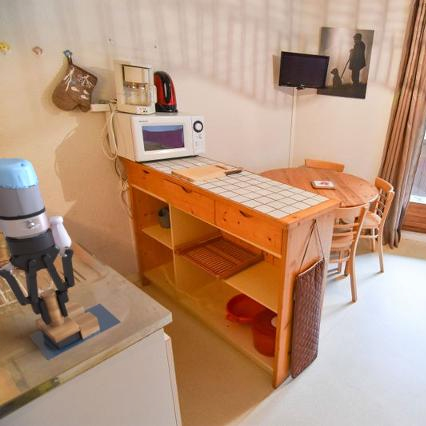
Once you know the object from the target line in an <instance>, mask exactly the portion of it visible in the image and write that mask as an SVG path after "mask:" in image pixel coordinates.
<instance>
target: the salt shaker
mask: <svg viewBox="0 0 426 426" xmlns="http://www.w3.org/2000/svg"><path fill="white" fill-rule="evenodd" d="M48 220H49V223H50V229H51V230H52V234H53V237H54V241H55V244H56V245H57V246H58V247H59V248H64V247H66V246H68V247H70V248H71V246H72V239H71V237H70V236H69V233H68V232H67V230H66V228H65V226H64V224H63V223H64V218H63V216H61V215H52V216H48Z"/></svg>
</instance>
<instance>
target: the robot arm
mask: <svg viewBox="0 0 426 426" xmlns="http://www.w3.org/2000/svg"><path fill="white" fill-rule="evenodd" d="M39 182H40V181H39V177H38V176H37V174H36V172H35V169H34V167H33V164H32V162H30V161H29V160H28V159H25V158H19V157H11V158H9V157H4V158H0V228H1V231H2V234H3V236H5V237H4V239H5V242H6V246H7V248H8V251H9V254H10V256H9V260H8V261H9V262H8V263H6V264H4V266H0V277H2V278H3V279H4V280H5V281H6V283H7V285H8V286H9V288H10V290H11V292H12V294H13V296H14V297H15V300H17V302H18V303H19V305H20V306H22V307H25V306H28V305H30V306H31V309H32V312H33V313H34V314H35V315H36V316H39V315H40V318H41V317H42V320H43V321H44V322H45V324H46V325H49V324H51V323H50V319H49V316H48V313H47V310H46V307H45V304H44V301H43V300H42V299H41V297H40V296H39V288H38V280H37V277H38V273H37V272H40V270H45V269H46V272H47V273H48V275H49V277H50V279H51V280H52V282H53V284H54V286H55V288H56V289H54V290H55V291H56V295H57V298H58V301H59V305H60V308H61V311H62V315H63V316H64V317H67V316H68V313H67V310H66V304H67V303H68V302H70V299H69V295H68V292H69V290H68V289H70V288H73V287H75V285H76V283H75V276H74V266H73V256H74V253H75V251H74V250H73V249H72V248H71V246H70V247H68V246H66V247H64V248H59V247H58V246H57V245H56V244H55V241H54V237H53V234H52V230H51V225H50V223H49V220H48V218H49V216H48V213H47V210H46V205H45V203H44V199H43V196H42V191H41V187H40V184H39ZM58 255H59V256H60V257H61V263H62V264H61V266H62V272H63V279H64V280H62V277H61V276H60V274H59V272H58V270H57V268H56V266H55V263H54V262H55V261H56V259H57V257H58ZM14 268H17V269H20V270H22V271H23V272H24V275H25V282H26V290H27V291H26V292H27V296H25V294H24V292H23V290H22V288H21V287H20V284H19V282H18V280H17V279H16V277H15V276H14V273H15V270H14ZM63 281H64V282H63Z"/></svg>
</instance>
